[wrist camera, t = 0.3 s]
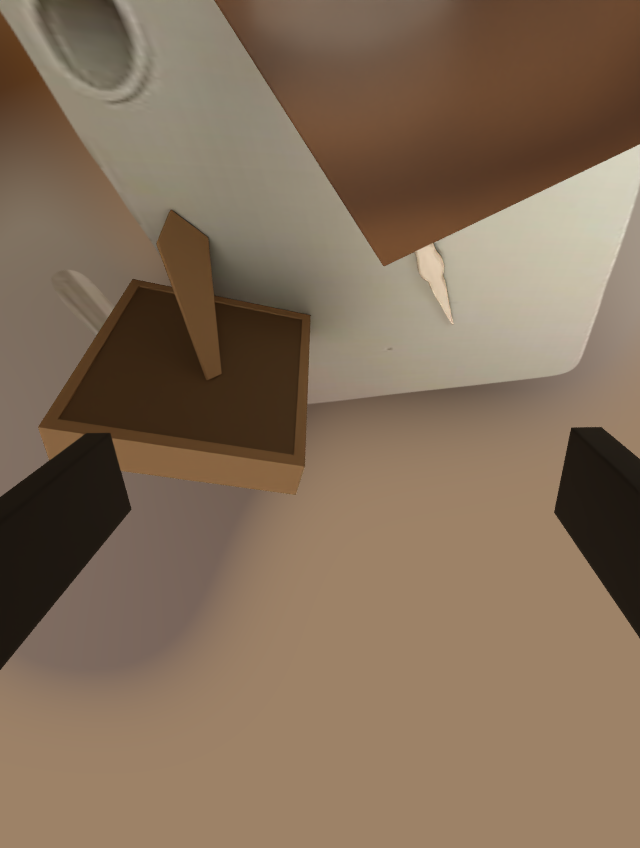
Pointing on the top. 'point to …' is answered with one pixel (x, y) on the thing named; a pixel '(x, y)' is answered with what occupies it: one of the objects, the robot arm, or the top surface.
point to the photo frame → (192, 380)
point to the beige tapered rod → (434, 275)
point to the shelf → (447, 100)
